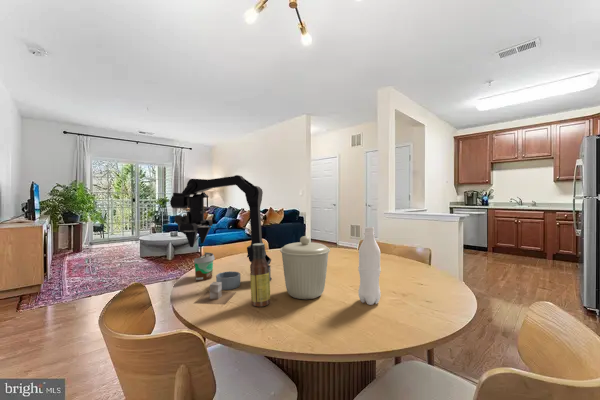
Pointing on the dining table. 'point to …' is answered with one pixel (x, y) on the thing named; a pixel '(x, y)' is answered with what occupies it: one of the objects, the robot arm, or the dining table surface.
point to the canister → (305, 268)
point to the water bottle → (369, 268)
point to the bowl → (229, 280)
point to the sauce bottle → (259, 277)
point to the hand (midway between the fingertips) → (197, 245)
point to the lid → (215, 295)
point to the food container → (204, 267)
